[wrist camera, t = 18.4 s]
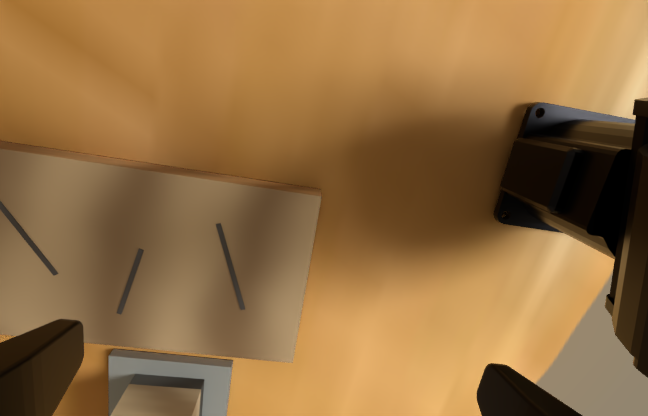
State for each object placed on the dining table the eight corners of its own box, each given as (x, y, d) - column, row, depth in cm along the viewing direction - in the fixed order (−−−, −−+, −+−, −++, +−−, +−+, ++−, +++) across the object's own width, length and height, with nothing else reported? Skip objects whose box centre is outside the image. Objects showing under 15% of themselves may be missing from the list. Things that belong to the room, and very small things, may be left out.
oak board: (320, 189, 19) (321, 196, 18) (293, 345, 22) (292, 363, 21) (-49, 133, 17) (-82, 136, 16) (-27, 312, 20) (-53, 330, 19)
